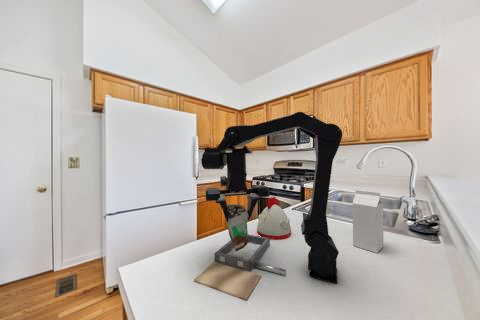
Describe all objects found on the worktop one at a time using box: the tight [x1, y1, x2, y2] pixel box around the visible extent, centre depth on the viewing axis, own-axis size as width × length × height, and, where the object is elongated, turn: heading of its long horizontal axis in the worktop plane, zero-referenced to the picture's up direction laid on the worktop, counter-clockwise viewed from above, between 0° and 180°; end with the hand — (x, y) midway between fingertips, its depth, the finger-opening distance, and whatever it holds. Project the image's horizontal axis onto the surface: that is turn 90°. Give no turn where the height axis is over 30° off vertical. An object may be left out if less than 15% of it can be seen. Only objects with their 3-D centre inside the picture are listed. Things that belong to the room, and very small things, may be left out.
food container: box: [226, 203, 249, 252], centre depth 56 cm, size 12×6×10 cm, turn 14°
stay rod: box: [253, 261, 287, 276], centre depth 52 cm, size 10×1×1 cm, turn 63°
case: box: [214, 233, 271, 272], centre depth 61 cm, size 12×17×2 cm
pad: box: [193, 261, 262, 302], centre depth 48 cm, size 15×9×1 cm, turn 63°
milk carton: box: [352, 189, 385, 254], centre depth 64 cm, size 7×7×19 cm
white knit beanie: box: [256, 196, 292, 241], centre depth 77 cm, size 14×14×15 cm
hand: (237, 220), depth 56 cm, fingers closed on food container, 6 cm apart
